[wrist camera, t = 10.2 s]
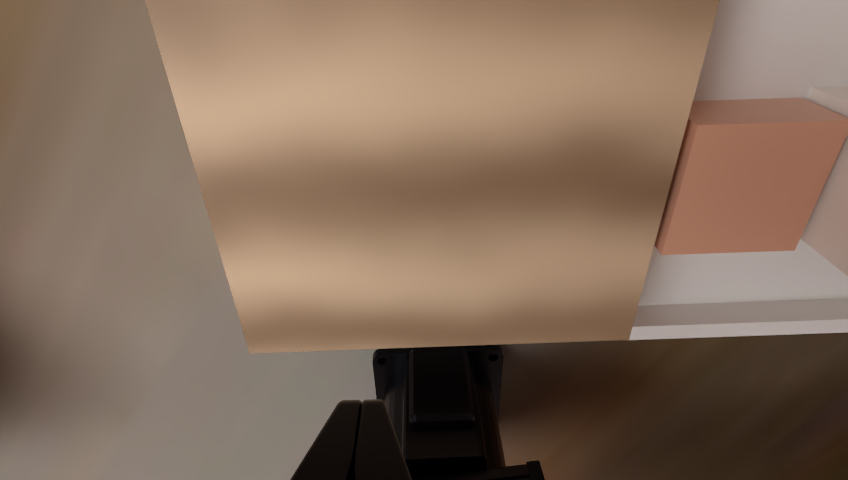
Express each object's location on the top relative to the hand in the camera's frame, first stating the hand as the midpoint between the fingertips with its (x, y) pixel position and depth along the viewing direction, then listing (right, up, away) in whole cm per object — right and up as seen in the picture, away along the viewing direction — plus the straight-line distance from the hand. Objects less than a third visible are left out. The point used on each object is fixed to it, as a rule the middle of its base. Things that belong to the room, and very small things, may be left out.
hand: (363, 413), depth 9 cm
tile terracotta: (+12, +6, +10) cm, 17 cm away
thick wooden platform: (+2, +6, +10) cm, 12 cm away
